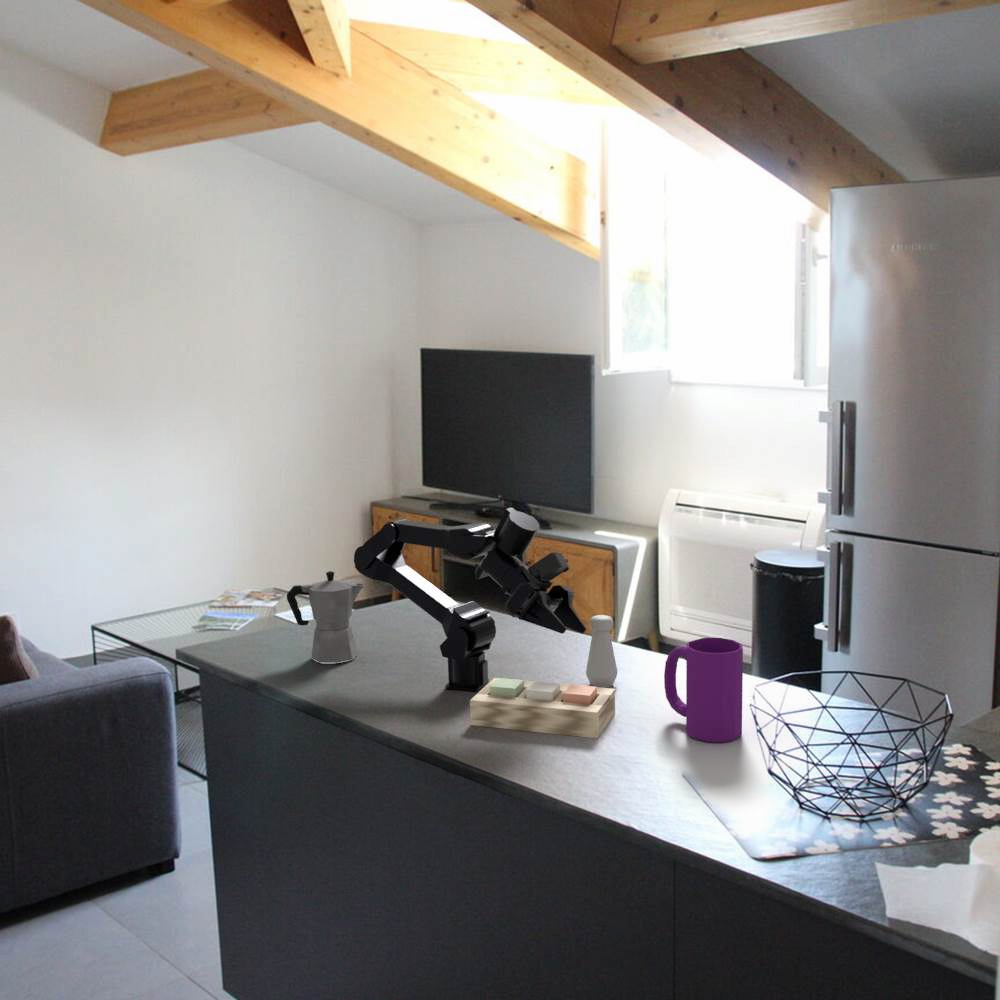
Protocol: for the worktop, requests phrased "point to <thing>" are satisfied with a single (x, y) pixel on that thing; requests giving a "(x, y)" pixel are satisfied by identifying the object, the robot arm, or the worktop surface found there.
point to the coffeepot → (329, 617)
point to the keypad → (543, 712)
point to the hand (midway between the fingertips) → (574, 631)
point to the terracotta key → (580, 694)
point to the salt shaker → (601, 653)
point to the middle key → (543, 691)
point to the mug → (708, 688)
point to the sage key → (507, 687)
